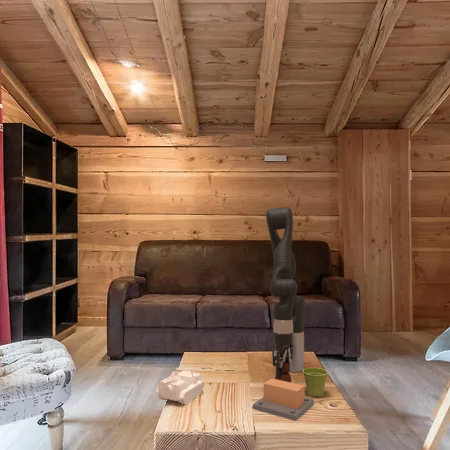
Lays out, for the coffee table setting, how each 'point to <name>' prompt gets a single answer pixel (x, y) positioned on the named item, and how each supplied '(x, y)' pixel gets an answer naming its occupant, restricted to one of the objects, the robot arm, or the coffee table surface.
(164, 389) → the toy tank
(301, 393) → the brick
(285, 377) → the wooden figurine
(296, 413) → the baseplate
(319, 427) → the coffee table surface
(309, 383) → the plant pot
